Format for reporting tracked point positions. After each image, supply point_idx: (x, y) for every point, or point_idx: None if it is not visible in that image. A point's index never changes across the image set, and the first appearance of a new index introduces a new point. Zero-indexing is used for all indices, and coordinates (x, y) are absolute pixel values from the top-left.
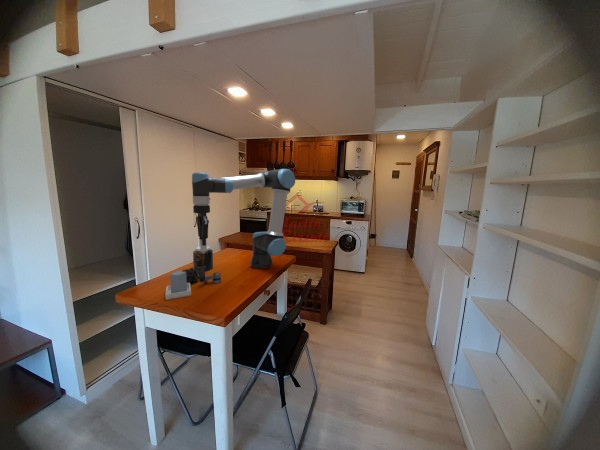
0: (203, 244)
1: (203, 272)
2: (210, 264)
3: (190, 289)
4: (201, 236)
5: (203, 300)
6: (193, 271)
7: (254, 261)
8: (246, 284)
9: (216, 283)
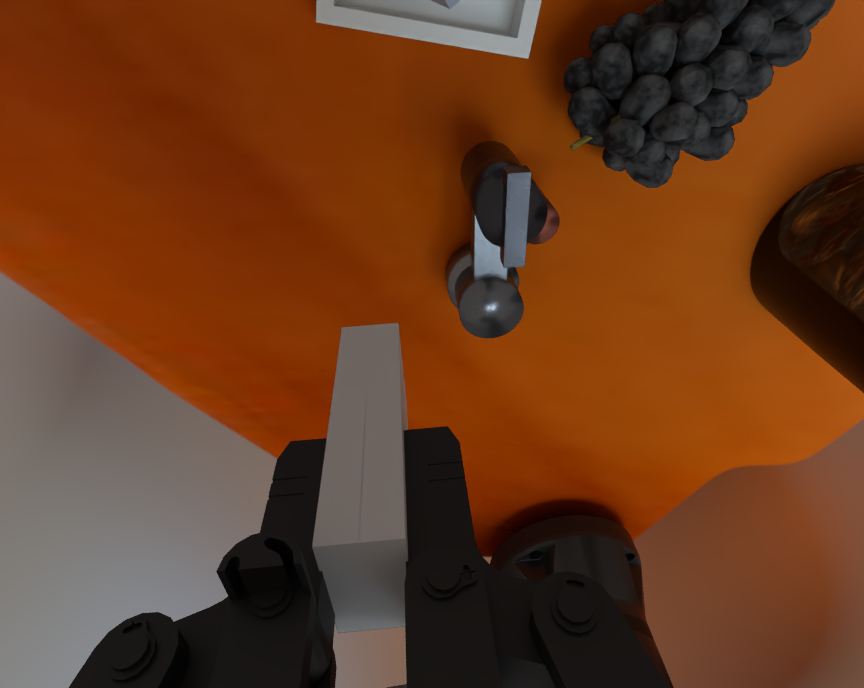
0: (277, 470)
1: (474, 213)
2: (788, 318)
3: (355, 25)
4: (221, 666)
5: (184, 100)
6: (613, 128)
7: (555, 561)
8: None
9: (449, 265)
